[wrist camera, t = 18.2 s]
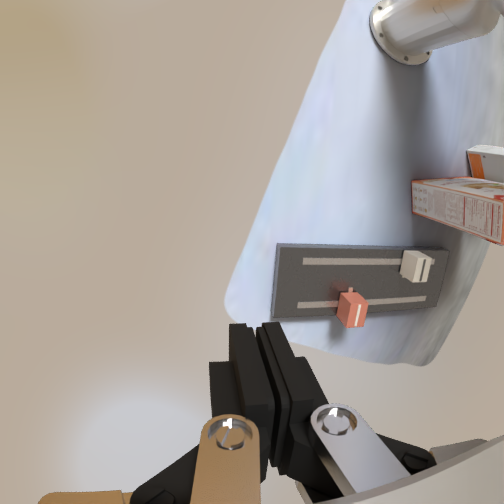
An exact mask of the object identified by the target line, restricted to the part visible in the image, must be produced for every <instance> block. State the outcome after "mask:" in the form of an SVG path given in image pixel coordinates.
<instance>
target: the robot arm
mask: <svg viewBox="0 0 504 504" xmlns="http://www.w3.org/2000/svg"><path fill="white" fill-rule="evenodd" d="M500 14H502V15H503V17H504V0H382V1H380V2H378V3H377V4H376V5H375V6H374V7H373V9H372V11H371V14H370V25H371V30H372V32H373V35H374V37H375V39H376V41H377V42H378V44H379V45H380V46H381V48H382V49H383V50H384V51H385V52H386V53H387V54H388V55H389V56H390V57H392V58H393V59H395V60H396V61H398V62H400V63H403V64H406V65H418V64H421V63H424V62H426V61H427V60H428V59H429V58H430V56H431V54H432V51H433V50H435V49H438V48H441V47H444V46H448V45H451V44H454V43H458V42H461V41H465V40H468V39H472V38H476V37H480V36H484V35H486V34H488V33H490V32H491V31H492V30H493V29H494V28H495V26H496V25H497V23H498V20H499V17H500ZM209 375H210V393H211V408H212V419H211V420H209V421H208V422H207V423H206V424H205V425H204V427H203V429H202V431H201V438H200V444H198V445H197V446H196V447H195V448H193V449H192V450H191V451H189V452H188V453H186V454H185V455H184V456H182V457H181V458H180V459H178V460H177V461H176V462H174V463H173V464H171V465H170V466H169V467H167V468H166V469H164V470H163V471H161V472H160V473H159V474H157V475H156V476H154V477H153V478H151V479H150V480H148V481H147V482H145V483H144V484H142V485H141V486H139V487H138V488H137V489H136V490H135V491H134V492H129V493H122V492H121V490H116V491H99V492H54V493H49V494H47V495H45V496H44V497H42V498H41V500H40V501H39V502H38V504H261V496H260V484H261V483H262V482H263V481H264V480H265V479H266V472H267V466H268V459H269V460H270V464H271V466H272V467H277V468H278V471H279V475H287V476H288V477H290V478H292V479H294V480H295V483H296V487H297V489H298V491H299V493H300V495H301V497H302V498H303V500H304V502H305V504H504V435H502V436H500V437H497V438H494V439H492V440H490V441H486V440H483V439H474V440H470V441H465V442H460V443H455V444H451V445H446V446H440V447H434V448H431V449H430V451H427V450H425V449H422V448H420V447H417V446H413V445H410V444H407V443H404V442H401V441H398V440H394V439H391V438H388V437H385V436H382V435H380V434H377V433H375V432H374V431H373V430H372V428H371V427H370V426H369V425H368V424H367V422H366V421H365V420H364V419H363V418H362V417H361V415H360V414H359V413H358V412H357V411H356V410H354V409H353V408H351V407H349V406H346V405H343V404H333V403H332V404H329V403H328V401H327V399H326V397H325V395H324V393H323V391H322V389H321V387H320V385H319V383H318V381H317V379H316V377H315V375H314V373H313V371H312V369H311V367H310V365H309V363H308V361H307V360H306V358H305V357H295V356H294V354H293V351H292V350H291V347H290V345H289V343H288V340H287V338H286V336H285V334H284V332H283V330H282V327H281V325H280V323H279V322H267V323H262V327H257V328H256V338H255V335H254V332H253V328H252V327H247V325H246V323H242V324H229V361H226V362H209Z"/></svg>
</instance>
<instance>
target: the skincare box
mask: <svg viewBox="0 0 504 504" xmlns="http://www.w3.org/2000/svg"><path fill="white" fill-rule="evenodd" d="M467 154H468V159H469V163H470V168H471V173H472V178H478V179H484V180H489V181H494V182H499V183H504V147H498V146H489V145H477V146H474V147H472V148H470V149H468V150H467Z"/></svg>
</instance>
